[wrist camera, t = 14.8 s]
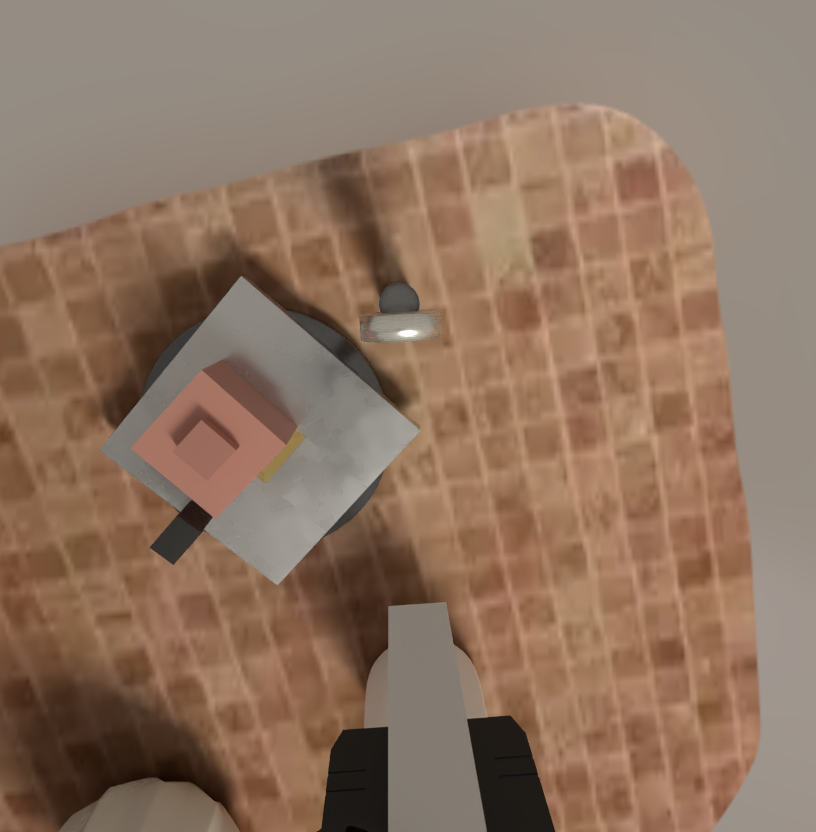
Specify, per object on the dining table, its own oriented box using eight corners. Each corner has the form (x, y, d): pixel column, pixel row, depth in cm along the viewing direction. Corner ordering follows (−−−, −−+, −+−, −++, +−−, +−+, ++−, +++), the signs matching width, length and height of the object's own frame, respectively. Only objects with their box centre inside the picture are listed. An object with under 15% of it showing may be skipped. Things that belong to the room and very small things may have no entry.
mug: (351, 593, 42) (339, 692, 32) (467, 578, 42) (492, 673, 32) (374, 735, 45) (369, 868, 35) (482, 721, 45) (510, 850, 35)
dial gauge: (367, 325, 38) (358, 344, 27) (364, 283, 37) (354, 286, 27) (430, 322, 38) (445, 338, 27) (428, 280, 37) (443, 281, 27)
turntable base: (165, 549, 41) (159, 556, 40) (126, 314, 37) (118, 315, 36) (397, 534, 41) (397, 540, 40) (381, 299, 37) (381, 299, 36)
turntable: (280, 576, 40) (261, 629, 34) (108, 444, 37) (54, 477, 31) (419, 425, 38) (425, 453, 32) (246, 275, 35) (216, 275, 29)
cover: (233, 493, 37) (211, 524, 32) (158, 429, 36) (123, 452, 31) (297, 427, 36) (283, 449, 32) (222, 359, 35) (196, 372, 31)
